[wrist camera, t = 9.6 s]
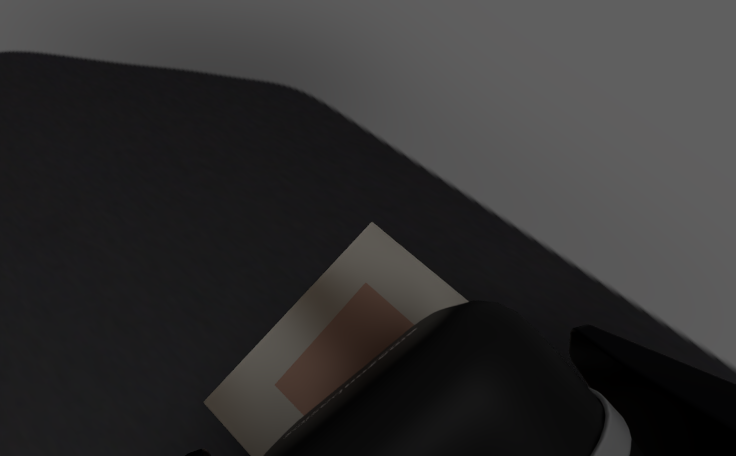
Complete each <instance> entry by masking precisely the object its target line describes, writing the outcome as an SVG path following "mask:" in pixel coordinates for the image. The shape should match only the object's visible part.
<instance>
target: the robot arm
mask: <svg viewBox="0 0 736 456" xmlns="http://www.w3.org/2000/svg"><path fill="white" fill-rule="evenodd" d="M569 354H570V357H571V360H572V361H573V363H574V365H575V366H576V367H577V369H578V370H579V372H580V373H581V375H582V376H583V378H584V379H585V380H586V382H587V383H588V385H589V386H590V388H592V389H594V390H596V391H598V392H599V393H601V394H602V395H603V396H604V397H605V398H606V399H607V400H608V402H609V403H610V404H611V405H612V406H613V407H614V408H615V409H616V410H617V412H618V413H619V414H620V415H621V416H622V417H623V418H624V420H625V422H626V424H627V426H628V428H629V431H630V435H631V438H632V439H633V440H634V442H635V443H636V445H637V446H638V447H639V449H640V450H641V452H642V453H643V454H644V456H736V384H734V383H732V382H729V381H727V380H725V379H722V378H720V377H717V376H715V375H712V374H710V373H707V372H705V371H702V370H700V369H698V368H695V367H693V366H690V365H688V364H685V363H683V362H680V361H678V360H676V359H673V358H671V357H668V356H666V355H663V354H661V353H658V352H656V351H653V350H651V349H649V348H646V347H644V346H641V345H639V344H636V343H634V342H631V341H629V340H626V339H624V338H622V337H619V336H617V335H614V334H612V333H609V332H607V331H604V330H602V329H600V328H597V327H595V326H592V325H588V324H586V325H582V326H579V327H576V328H573V329H572V330H571V332H570V347H569ZM185 456H211V455H210V454H209V452H208V451H207V450H206V449H200V450H197V451H194V452H191V453H188V454H187V455H185Z"/></svg>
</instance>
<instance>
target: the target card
mask: <svg viewBox="0 0 736 456" xmlns="http://www.w3.org/2000/svg"><path fill="white" fill-rule="evenodd" d="M467 302H469V301H467V300H466V299H465V298H464V297H463V296H461V295H460V294H459V293H458V292H456V291H455V290H454V289H453V288H452V287H450V286H449V285H448V284H447V283H446V282H444V281H443V280H442V279H441V278H439V277H438V276H437V275H436V274H435V273H433V272H432V271H431V270H430V269H429V268H427V267H426V266H425V265H424V264H422V263H421V262H420V261H419V260H418V259H416V258H415V257H414V256H413V255H412V254H410V253H409V252H408V251H407V250H406V249H404V248H403V247H402V246H401V245H399V244H398V243H397V242H396V241H395V240H393V239H392V238H391V237H390V236H389V235H387V234H386V233H385V232H384V231H382V230H381V229H380V228H379V227H378V226H376V225H375V224H374V223H373V222H371V223H370V224H369V226H368V227H367V228H366V229H365V230H364V231H363V232H362V233H361V234H360V235H359V236H358V237H357V238H356V239H355V241H354V242H353V243H352V244H351V245H350V246H349V247H348V248H347V249H346V250H345V251H344V252H343V253H342V254H341V256H340V257H339V258H338V259H337V260H336V261H335V262H334V263H333V264H332V265H331V266H330V267H329V268H328V269H327V270H326V272H325V273H324V274H323V275H322V276H321V277H320V278H319V279H318V280H317V281H316V282H315V283H314V284H313V285H312V287H311V288H310V289H309V290H308V291H307V292H306V293H305V294H304V295H303V296H302V297H301V298H300V299H299V300H298V302H297V303H296V304H295V305H294V306H293V307H292V308H291V309H290V310H289V311H288V312H287V313H286V314H285V315H284V317H283V318H282V319H281V320H280V321H279V322H278V323H277V324H276V325H275V326H274V327H273V328H272V329H271V330H270V331H269V333H268V334H267V335H266V336H265V337H264V338H263V339H262V340H261V341H260V342H259V343H258V344H257V345H256V346H255V348H254V349H253V350H252V351H251V352H250V353H249V354H248V355H247V356H246V357H245V358H244V359H243V360H242V361H241V363H240V364H239V365H238V366H237V367H236V368H235V369H234V370H233V371H232V372H231V373H230V374H229V375H228V376H227V377H226V379H225V380H224V381H223V382H222V383H221V384H220V385H219V386H218V387H217V388H216V389H215V390H214V391H213V392H212V394H211V395H210V396H209V397H208V398H207V399H206V400H205V401H204V403H205V405H206V406H207V407H208V408H209V409H210V410H211V411H212V412H213V414H214V415H215V416H216V417H217V418H218V419H219V420H220V422H221V423H222V424H223V425H224V426H225V427H226V428H227V429H228V431H229V432H230V433H231V434H232V435H233V436H234V437H235V438H236V440H237V441H238V442H239V443H240V444H241V445H242V446H243V448H244V449H245V450H246V451H247V452H248V453H249V454H250V455H251V456H264V454H265V453H266V452H267V451H268V450H269V449H270V448H271V447H272V446H273V445H274V444H275V443H276V442H277V441H278V440H279V438H280V437H281V436H282V435H283V434H284V433H285V432H286V431H287V430H289V429H290V428H291V427H292V426H293V425H294V424H295V423H296V422H297V421H298V420H299V419H301V418H302V417H303V416H304V415H306V414H307V413H308V412H309V411H310V410H312V409H313V408H314V407H315V406H316V405H318V404H319V403H320V402H321V401H323V400H324V399H325V398H326V397H327V396H329V395H330V394H331V393H332V392H334V391H335V390H336V389H337V388H338V387H340V386H341V385H342V384H343V383H345V382H346V381H347V380H348V379H349V378H351V377H352V376H353V375H354V374H355V373H357V372H358V371H359V370H360V369H362V368H363V367H364V366H365V365H366V364H368V363H369V362H370V361H371V360H372V359H374V358H375V357H376V356H377V355H378V354H380V353H381V352H382V351H383V350H384V349H386V348H387V347H388V346H389V345H390V344H392V343H393V342H394V341H395V340H396V339H398V338H399V337H400V336H401V335H403V334H404V333H405V332H406V331H407V330H408V329H410V328H411V327H412V326H414V325H415V324H417V323H418V322H419V321H421V320H422V319H424V318H425V317H427V316H429V315H430V314H432V313H434V312H436V311H439V310H441V309H444V308H448V307H452V306H455V305H459V304H463V303H467Z"/></svg>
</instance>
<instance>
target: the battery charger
mask: <svg viewBox="0 0 736 456" xmlns="http://www.w3.org/2000/svg"><path fill="white" fill-rule="evenodd" d="M264 456H644V454H643V453H642V452H641V450H640V449H639V447H638V446H637V445H636V443H635V442H634V440H633V439H632V438H631V435H630V431H629V428H628V426H627V424H626V422H625V420H624V418H623V417H622V416H621V415H620V414H619V413H618V412H617V410H616V409H615V408H614V407H613V406H612V405H611V404H610V403H609V402H608V400H607V399H606V398H605V397H604V396H603V395H602V394H601V393H599V392H598V391H596V390H594V389H592V388H589V387H587V386H586V385H585V383H584V382H583V381H582V380H581V379H580V378H579V377H578V376H577V375H576V373H575V372H574V371H573V370H572V369H571V368H570V367H569V366H568V365H567V363H566V362H565V361H564V360H563V359H562V358H561V357H560V356H559V354H558V353H557V352H556V351H555V350H554V349H553V348H552V347H551V346H550V344H549V343H548V342H547V341H546V340H545V339H544V338H543V337H542V335H541V334H540V333H539V332H538V331H537V330H536V329H535V328H534V327H533V326H532V325H530V324H529V323H528V322H527V321H526V320H525V319H524V318H523V317H522V316H521V315H519V314H518V313H517V312H515V311H513V310H511V309H509V308H507V307H505V306H503V305H501V304H499V303H495V302H486V301H470V302H467V303H463V304H459V305H455V306H452V307H448V308H444V309H441V310H439V311H436V312H434V313H432V314H430V315H429V316H427V317H425V318H424V319H422V320H421V321H419V322H418V323H417V324H415V325H414V326H412V327H411V328H410V329H408V330H407V331H406V332H405V333H404V334H403V335H401V336H400V337H399V338H398V339H396V340H395V341H394V342H393V343H392V344H390V345H389V346H388V347H387V348H386V349H384V350H383V351H382V352H381V353H380V354H378V355H377V356H376V357H375V358H374V359H372V360H371V361H370V362H369V363H368V364H366V365H365V366H364V367H363V368H362V369H360V370H359V371H358V372H357V373H355V374H354V375H353V376H352V377H351V378H349V379H348V380H347V381H346V382H345V383H343V384H342V385H341V386H340V387H338V388H337V389H336V390H335V391H334V392H332V393H331V394H330V395H329V396H327V397H326V398H325V399H324V400H323V401H321V402H320V403H319V404H318V405H316V406H315V407H314V408H313V409H312V410H310V411H309V412H308V413H307V414H306V415H304V416H303V417H302V418H301V419H299V420H298V421H297V422H296V423H295V424H294V425H293V426H292V427H291V428H290V429H289V430H287V431H286V432H285V433H284V434H283V435H282V436H281V437H280V438H279V440H278V441H277V442H276V443H275V444H274V445H273V446H272V447H271V448H270V449H269V450H268V451H267V452H266V453H265V454H264Z"/></svg>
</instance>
